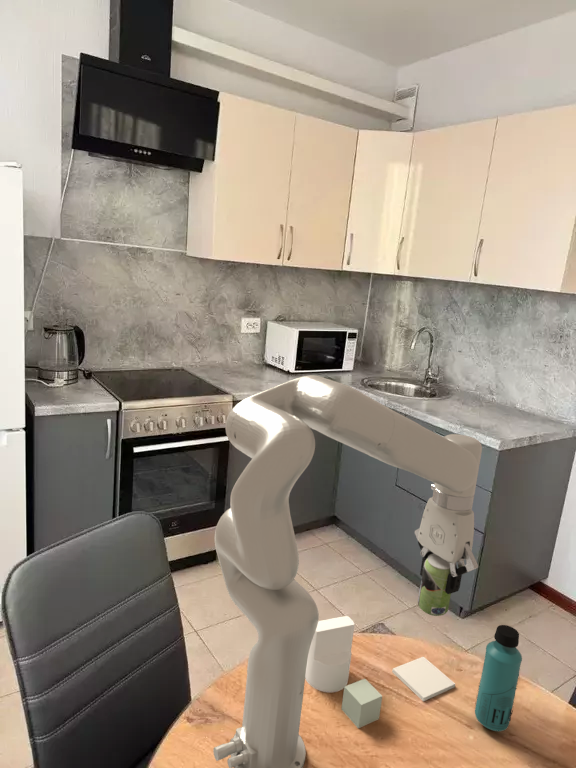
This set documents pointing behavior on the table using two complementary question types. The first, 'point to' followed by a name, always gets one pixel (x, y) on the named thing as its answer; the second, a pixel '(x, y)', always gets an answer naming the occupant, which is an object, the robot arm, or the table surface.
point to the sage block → (361, 703)
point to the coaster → (423, 678)
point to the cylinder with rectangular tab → (330, 654)
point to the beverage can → (434, 586)
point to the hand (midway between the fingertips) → (438, 582)
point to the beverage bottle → (499, 680)
